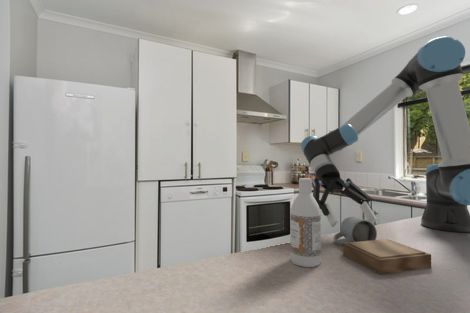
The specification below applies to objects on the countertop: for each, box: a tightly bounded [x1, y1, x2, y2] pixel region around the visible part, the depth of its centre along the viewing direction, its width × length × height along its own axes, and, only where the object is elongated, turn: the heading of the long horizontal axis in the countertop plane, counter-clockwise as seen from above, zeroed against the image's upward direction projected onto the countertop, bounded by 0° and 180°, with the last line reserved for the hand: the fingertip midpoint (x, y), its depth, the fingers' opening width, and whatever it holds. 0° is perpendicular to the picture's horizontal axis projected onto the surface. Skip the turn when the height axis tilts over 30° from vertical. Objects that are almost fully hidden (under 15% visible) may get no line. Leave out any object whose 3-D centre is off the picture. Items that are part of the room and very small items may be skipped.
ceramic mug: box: [333, 216, 378, 245], centre depth 76 cm, size 11×8×8 cm
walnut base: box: [342, 238, 432, 276], centre depth 62 cm, size 14×12×3 cm
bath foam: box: [290, 177, 322, 268], centre depth 61 cm, size 7×7×20 cm
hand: (354, 223), depth 75 cm, fingers open, 13 cm apart
